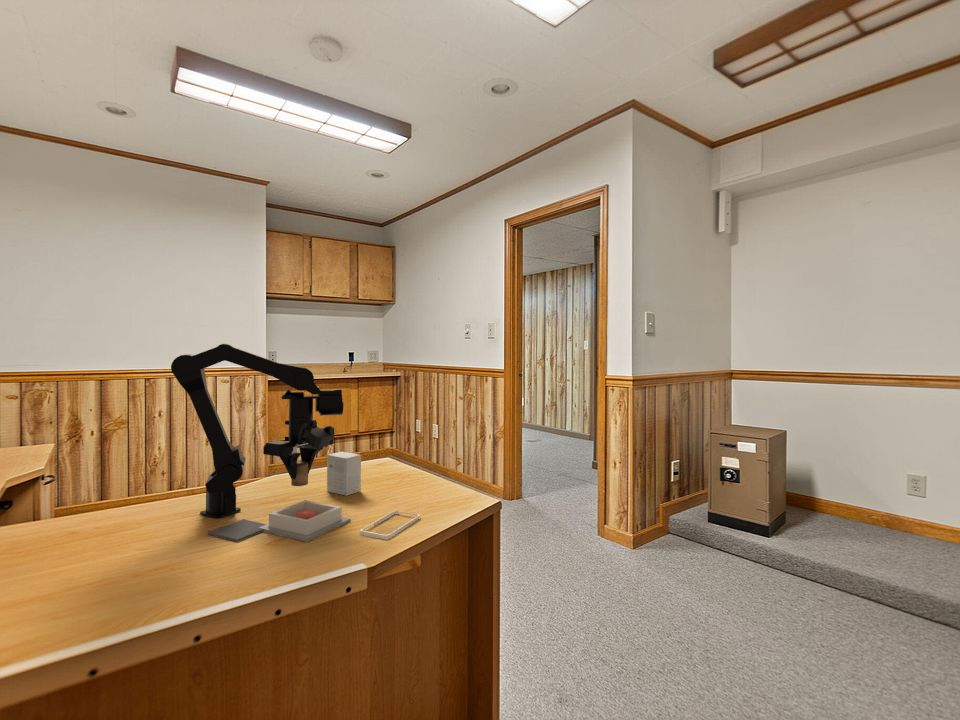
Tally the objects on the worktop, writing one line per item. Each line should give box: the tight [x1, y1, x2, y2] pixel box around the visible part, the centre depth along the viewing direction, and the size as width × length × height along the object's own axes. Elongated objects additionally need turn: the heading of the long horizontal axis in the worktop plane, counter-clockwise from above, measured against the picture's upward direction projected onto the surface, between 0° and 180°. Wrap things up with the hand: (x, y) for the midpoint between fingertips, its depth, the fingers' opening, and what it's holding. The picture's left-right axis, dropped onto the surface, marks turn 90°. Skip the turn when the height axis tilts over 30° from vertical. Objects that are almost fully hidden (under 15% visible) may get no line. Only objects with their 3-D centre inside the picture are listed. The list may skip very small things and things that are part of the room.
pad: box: [207, 518, 267, 543], centre depth 106 cm, size 9×9×1 cm
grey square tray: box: [258, 499, 351, 543], centre depth 110 cm, size 14×14×4 cm
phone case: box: [359, 510, 421, 540], centre depth 111 cm, size 7×1×15 cm
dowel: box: [290, 460, 309, 487], centre depth 124 cm, size 4×4×6 cm
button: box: [296, 509, 316, 520], centre depth 110 cm, size 4×4×1 cm
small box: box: [326, 451, 362, 496], centre depth 137 cm, size 8×6×10 cm
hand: (299, 477), depth 124 cm, fingers closed on dowel, 4 cm apart
